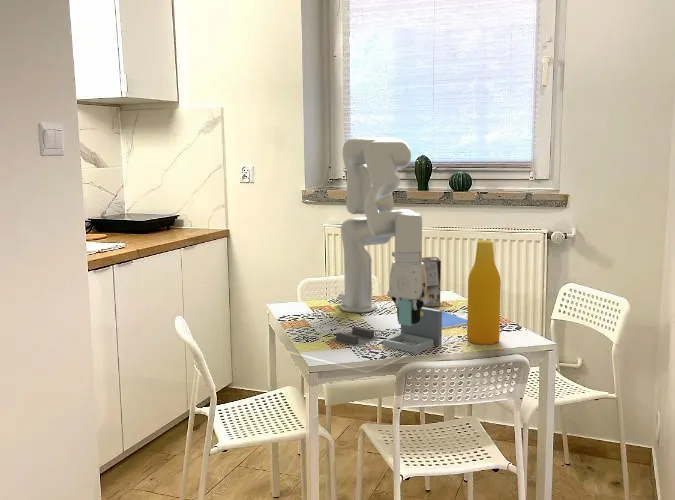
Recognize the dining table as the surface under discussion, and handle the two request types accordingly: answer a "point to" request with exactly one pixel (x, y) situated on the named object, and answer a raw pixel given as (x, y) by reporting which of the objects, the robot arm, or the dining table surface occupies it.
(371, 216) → the robot arm
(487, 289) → the beer bottle
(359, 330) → the grey ridged plate
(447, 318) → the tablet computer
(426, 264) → the coffee box
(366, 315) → the dining table surface
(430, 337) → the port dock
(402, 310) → the plug
